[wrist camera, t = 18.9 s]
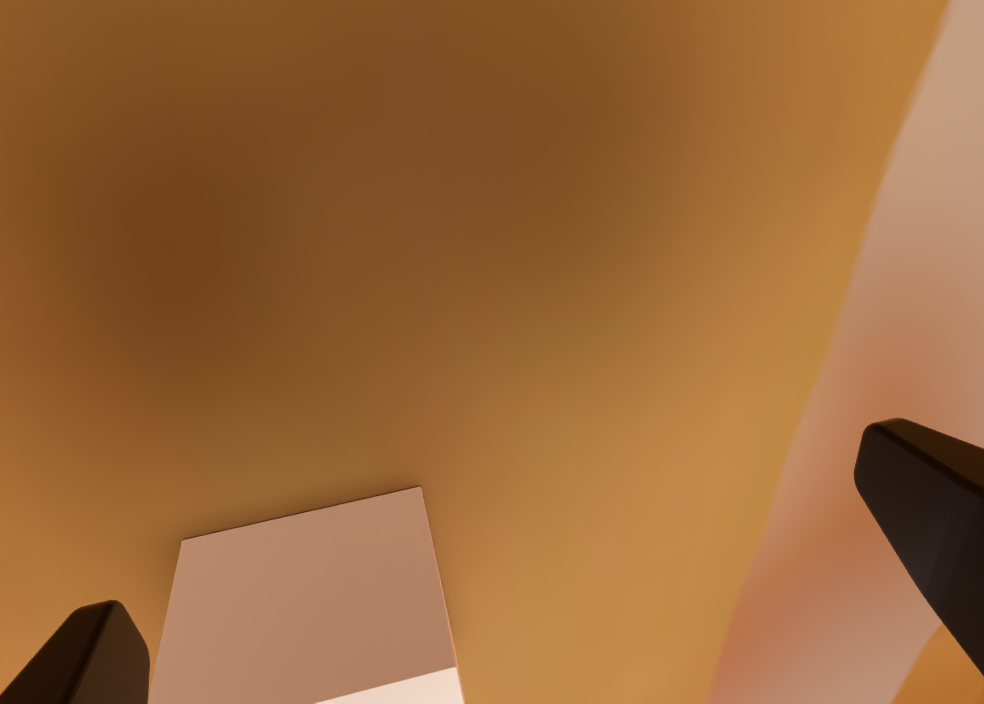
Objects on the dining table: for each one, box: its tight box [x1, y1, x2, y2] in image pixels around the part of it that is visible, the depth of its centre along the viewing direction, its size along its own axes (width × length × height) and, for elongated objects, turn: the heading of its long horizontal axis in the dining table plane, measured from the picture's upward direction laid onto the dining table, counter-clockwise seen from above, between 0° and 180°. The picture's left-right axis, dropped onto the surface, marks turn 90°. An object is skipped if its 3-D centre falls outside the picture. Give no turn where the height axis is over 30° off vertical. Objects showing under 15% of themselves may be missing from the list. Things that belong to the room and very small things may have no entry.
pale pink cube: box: [148, 486, 466, 704], centre depth 22 cm, size 8×8×7 cm
